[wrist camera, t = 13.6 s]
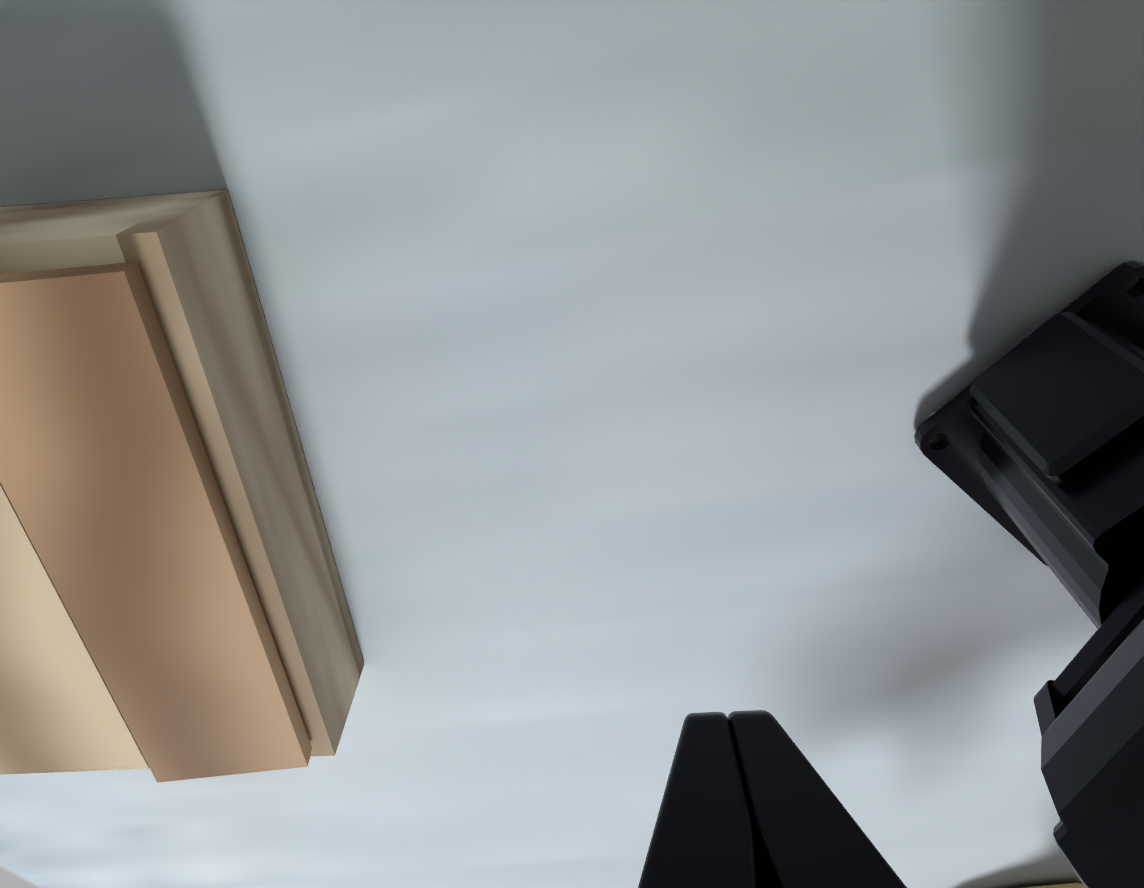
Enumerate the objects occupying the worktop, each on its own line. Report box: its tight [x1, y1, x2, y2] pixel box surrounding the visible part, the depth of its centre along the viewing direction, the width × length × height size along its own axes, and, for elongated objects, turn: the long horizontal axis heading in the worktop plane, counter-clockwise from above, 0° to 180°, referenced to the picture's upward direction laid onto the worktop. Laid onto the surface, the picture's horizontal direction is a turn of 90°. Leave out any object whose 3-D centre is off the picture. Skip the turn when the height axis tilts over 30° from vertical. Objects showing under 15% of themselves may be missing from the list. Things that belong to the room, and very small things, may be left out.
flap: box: [0, 262, 312, 782], centre depth 19 cm, size 4×14×1 cm, turn 4°
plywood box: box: [0, 190, 364, 774], centre depth 20 cm, size 10×15×4 cm, turn 4°
